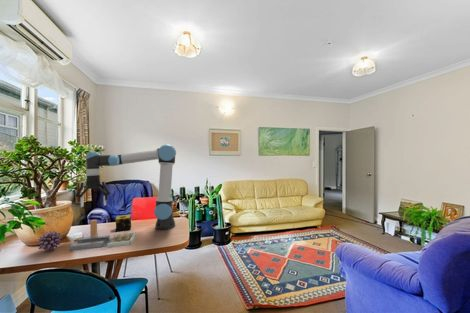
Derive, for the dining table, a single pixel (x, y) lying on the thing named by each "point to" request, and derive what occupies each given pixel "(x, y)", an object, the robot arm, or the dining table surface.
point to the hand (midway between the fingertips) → (93, 206)
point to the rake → (93, 228)
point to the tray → (122, 241)
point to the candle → (123, 223)
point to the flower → (49, 240)
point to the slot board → (91, 243)
